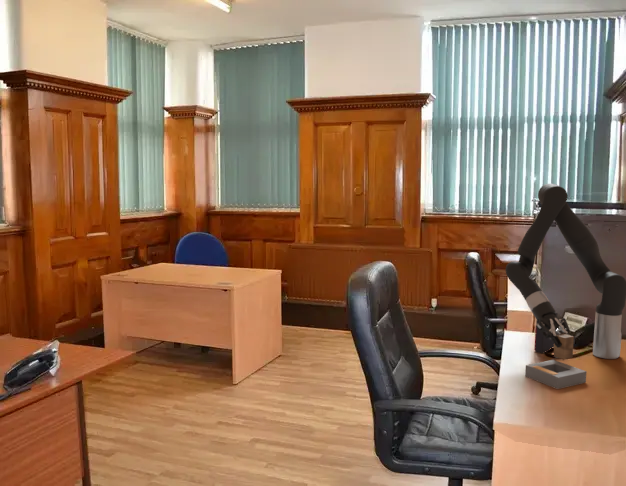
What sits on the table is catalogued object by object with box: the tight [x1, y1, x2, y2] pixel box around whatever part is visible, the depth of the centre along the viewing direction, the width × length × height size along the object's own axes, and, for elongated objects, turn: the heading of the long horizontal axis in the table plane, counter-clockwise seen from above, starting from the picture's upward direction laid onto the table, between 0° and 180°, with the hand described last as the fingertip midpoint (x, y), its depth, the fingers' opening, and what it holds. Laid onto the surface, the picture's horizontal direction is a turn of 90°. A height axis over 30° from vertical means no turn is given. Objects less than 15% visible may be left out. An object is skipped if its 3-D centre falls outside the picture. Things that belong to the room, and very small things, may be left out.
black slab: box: [533, 312, 558, 354], centre depth 245 cm, size 11×4×15 cm, turn 134°
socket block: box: [524, 359, 587, 390], centre depth 212 cm, size 14×14×4 cm
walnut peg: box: [553, 332, 575, 361], centre depth 220 cm, size 4×4×8 cm
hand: (564, 345), depth 220 cm, fingers closed on walnut peg, 4 cm apart
